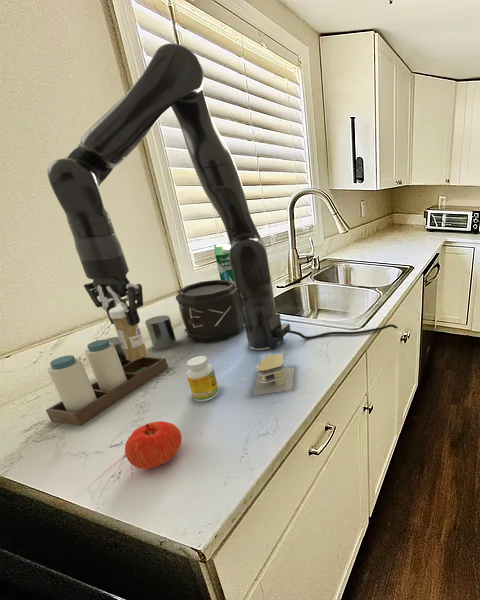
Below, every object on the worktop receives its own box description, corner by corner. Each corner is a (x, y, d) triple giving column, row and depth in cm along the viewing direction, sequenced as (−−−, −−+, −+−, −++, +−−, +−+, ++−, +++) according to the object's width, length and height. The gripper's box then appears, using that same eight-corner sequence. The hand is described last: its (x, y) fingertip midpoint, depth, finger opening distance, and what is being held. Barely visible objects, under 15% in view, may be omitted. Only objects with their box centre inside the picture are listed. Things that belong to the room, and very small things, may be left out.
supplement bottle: (194, 391, 79) (184, 357, 75) (219, 385, 81) (211, 352, 77) (192, 405, 74) (181, 369, 71) (219, 398, 76) (209, 363, 73)
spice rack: (168, 369, 88) (165, 358, 86) (81, 427, 68) (75, 414, 66) (144, 366, 89) (141, 355, 88) (52, 423, 69) (45, 410, 68)
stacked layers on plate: (258, 372, 86) (255, 354, 84) (293, 367, 88) (291, 349, 86) (252, 395, 77) (248, 376, 75) (291, 389, 79) (288, 370, 77)
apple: (120, 478, 56) (105, 442, 53) (153, 442, 64) (141, 409, 61) (166, 477, 56) (153, 442, 53) (194, 442, 64) (183, 409, 61)
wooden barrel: (171, 342, 102) (157, 295, 96) (213, 318, 118) (203, 277, 113) (220, 347, 98) (208, 299, 93) (257, 322, 115) (248, 280, 109)
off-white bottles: (135, 386, 80) (117, 338, 75) (82, 420, 69) (57, 367, 64) (118, 384, 81) (99, 337, 76) (63, 417, 70) (37, 365, 65)
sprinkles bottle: (147, 357, 82) (131, 308, 77) (125, 363, 80) (106, 313, 75) (148, 350, 86) (133, 302, 81) (127, 355, 83) (109, 306, 78)
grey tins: (181, 342, 102) (174, 316, 99) (120, 379, 84) (108, 348, 81) (165, 340, 103) (157, 314, 100) (101, 376, 85) (88, 346, 82)
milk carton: (228, 314, 122) (213, 248, 113) (227, 306, 129) (214, 244, 120) (254, 310, 126) (242, 246, 117) (252, 302, 133) (240, 241, 124)
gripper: (143, 252, 75) (164, 319, 82) (93, 250, 78) (116, 315, 84) (111, 260, 69) (136, 332, 75) (57, 258, 71) (85, 328, 77)
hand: (125, 323), depth 79 cm, fingers closed on sprinkles bottle, 4 cm apart
